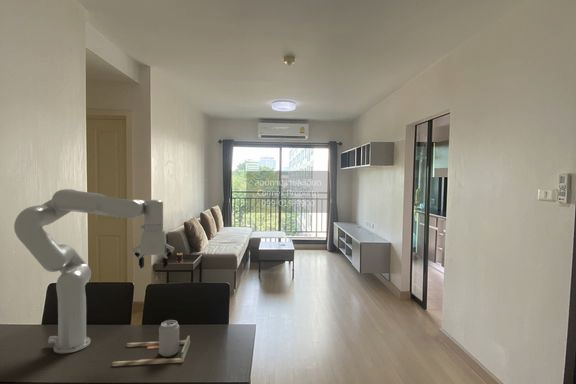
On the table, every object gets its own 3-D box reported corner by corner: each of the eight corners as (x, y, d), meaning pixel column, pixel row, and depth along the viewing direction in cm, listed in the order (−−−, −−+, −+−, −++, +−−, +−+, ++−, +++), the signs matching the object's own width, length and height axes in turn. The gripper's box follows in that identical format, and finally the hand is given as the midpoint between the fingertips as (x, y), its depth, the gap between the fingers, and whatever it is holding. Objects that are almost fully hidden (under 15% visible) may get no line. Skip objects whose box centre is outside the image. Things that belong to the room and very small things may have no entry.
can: (181, 348, 132) (182, 319, 131) (174, 358, 124) (174, 327, 124) (163, 347, 132) (163, 318, 132) (155, 357, 124) (155, 326, 124)
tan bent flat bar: (112, 366, 118) (112, 356, 118) (127, 345, 133) (127, 337, 133) (183, 362, 121) (183, 353, 121) (190, 343, 136) (190, 334, 136)
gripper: (129, 229, 136) (129, 269, 137) (172, 229, 138) (172, 269, 139) (135, 227, 144) (135, 265, 144) (176, 226, 146) (176, 264, 146)
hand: (153, 267), depth 141 cm, fingers open, 9 cm apart
